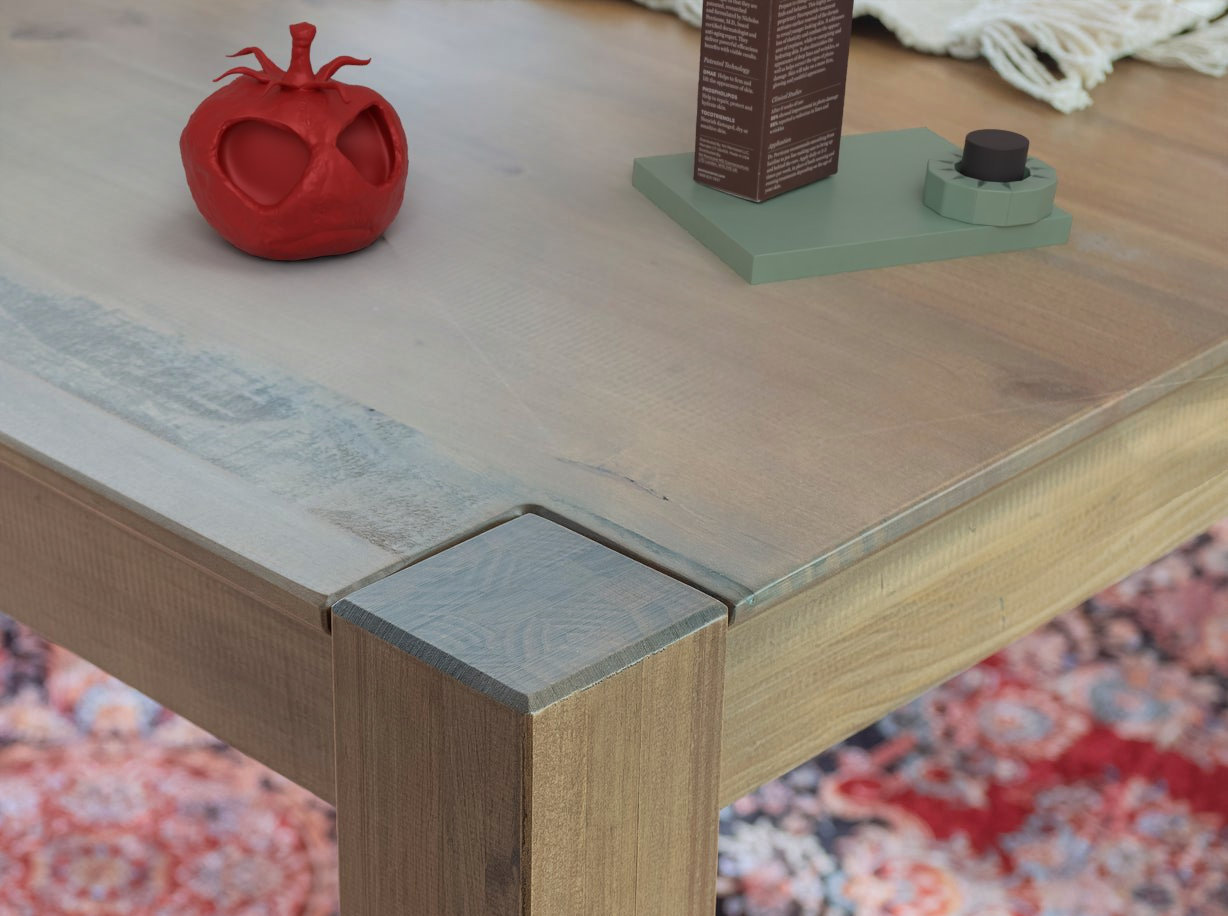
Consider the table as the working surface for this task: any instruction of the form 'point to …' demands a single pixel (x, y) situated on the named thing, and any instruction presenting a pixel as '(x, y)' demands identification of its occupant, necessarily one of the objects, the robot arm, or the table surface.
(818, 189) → the scale
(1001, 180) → the button
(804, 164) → the box
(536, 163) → the table surface
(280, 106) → the tomato with eye holes
